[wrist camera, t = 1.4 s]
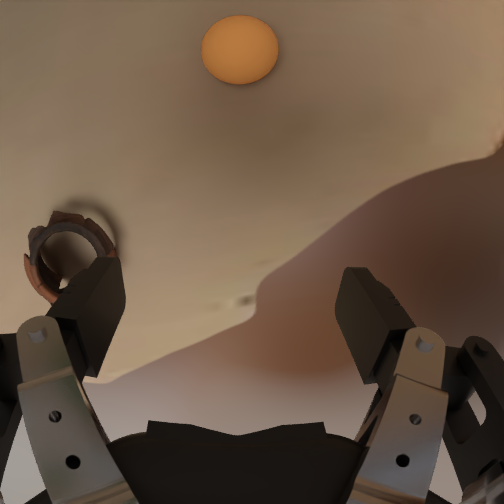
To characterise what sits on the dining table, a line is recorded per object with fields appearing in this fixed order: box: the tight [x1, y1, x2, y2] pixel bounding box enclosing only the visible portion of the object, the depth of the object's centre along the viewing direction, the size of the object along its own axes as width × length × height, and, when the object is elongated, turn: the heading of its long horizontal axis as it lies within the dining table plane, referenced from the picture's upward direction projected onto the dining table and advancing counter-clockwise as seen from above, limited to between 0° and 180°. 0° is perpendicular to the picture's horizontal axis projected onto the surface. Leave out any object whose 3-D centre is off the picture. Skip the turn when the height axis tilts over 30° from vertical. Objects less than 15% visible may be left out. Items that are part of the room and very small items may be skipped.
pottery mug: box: [24, 211, 115, 306], centre depth 25 cm, size 12×10×8 cm
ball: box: [201, 15, 279, 84], centre depth 18 cm, size 6×6×6 cm
